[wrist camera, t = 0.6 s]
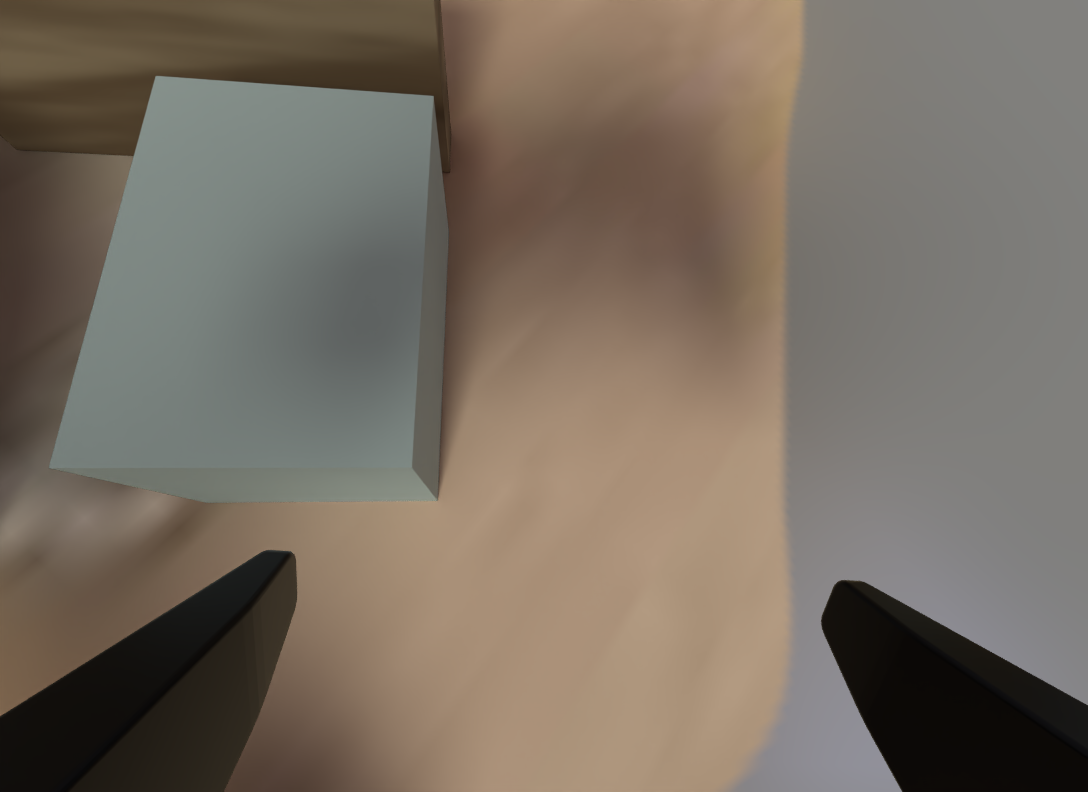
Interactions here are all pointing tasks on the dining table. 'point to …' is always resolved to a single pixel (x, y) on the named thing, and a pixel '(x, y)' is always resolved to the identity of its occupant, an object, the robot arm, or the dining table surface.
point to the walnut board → (200, 59)
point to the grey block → (270, 301)
